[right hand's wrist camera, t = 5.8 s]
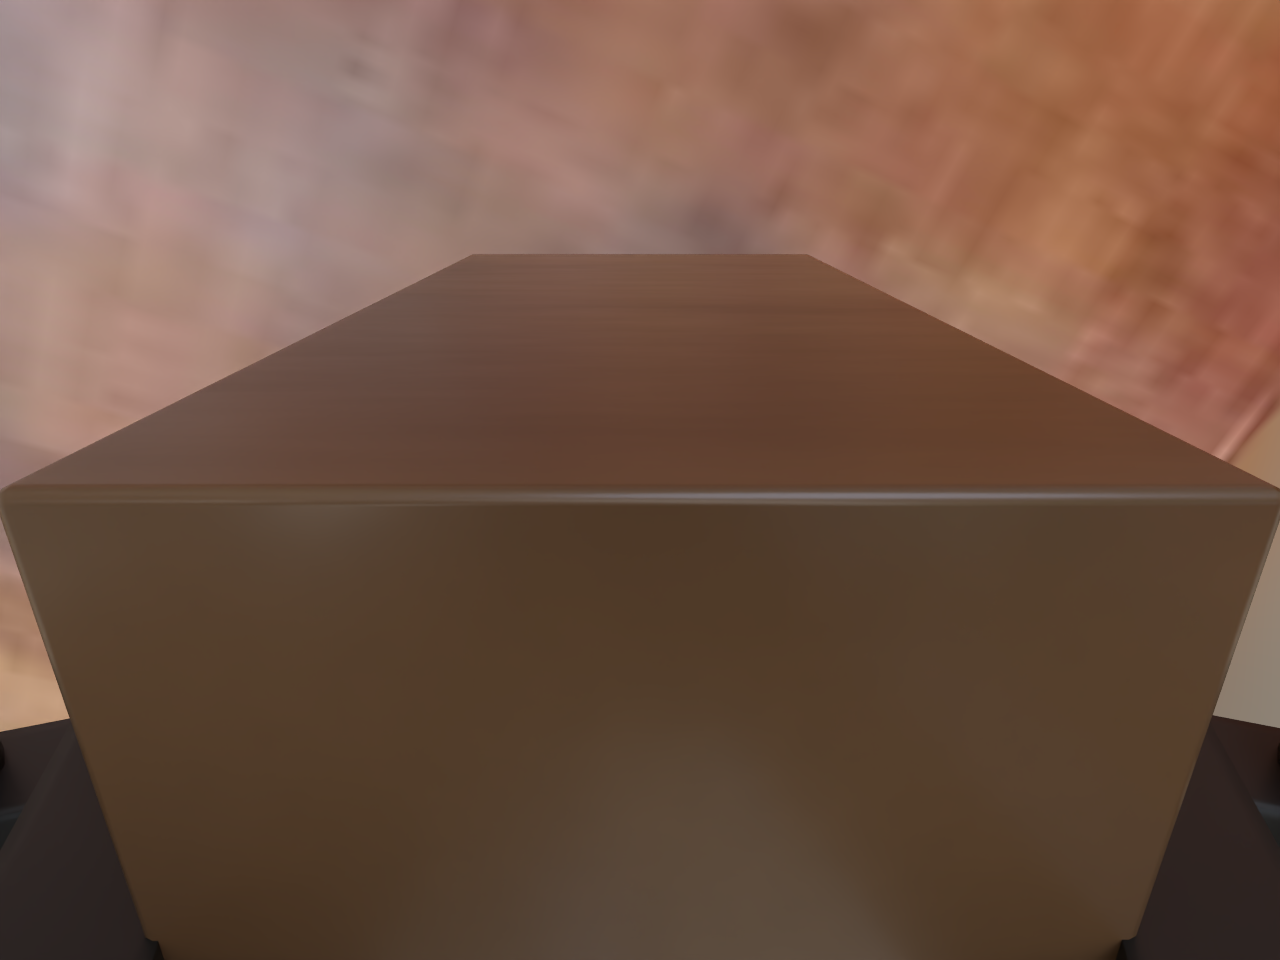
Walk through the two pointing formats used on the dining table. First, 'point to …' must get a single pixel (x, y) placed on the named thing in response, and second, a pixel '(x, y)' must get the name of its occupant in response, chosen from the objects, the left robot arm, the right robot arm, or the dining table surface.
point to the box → (640, 629)
